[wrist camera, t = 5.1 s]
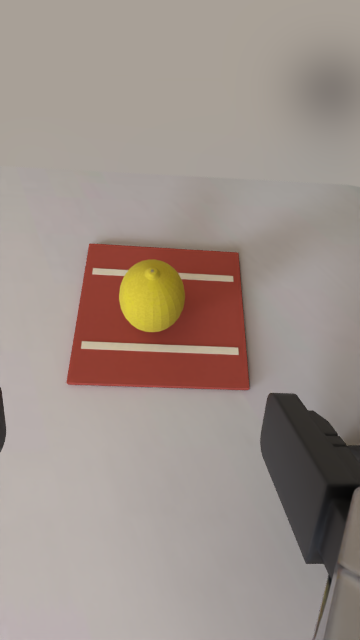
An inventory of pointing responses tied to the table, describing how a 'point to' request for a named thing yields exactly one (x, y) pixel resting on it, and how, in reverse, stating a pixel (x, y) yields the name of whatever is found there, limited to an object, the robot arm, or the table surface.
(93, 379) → the pot holder
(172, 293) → the lemon
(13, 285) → the table surface
